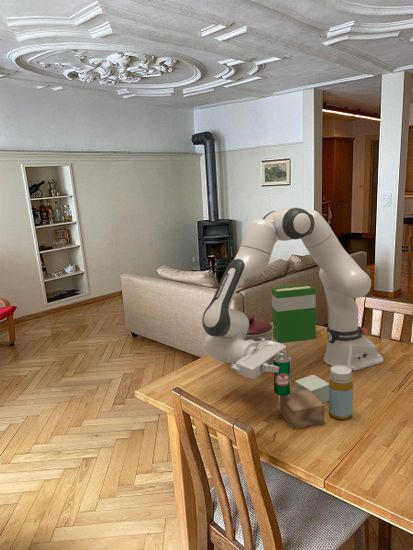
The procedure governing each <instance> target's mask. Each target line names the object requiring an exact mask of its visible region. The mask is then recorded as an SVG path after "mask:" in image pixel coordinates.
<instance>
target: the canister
mask: <svg viewBox="0 0 413 550" xmlns="http://www.w3.org/2000/svg"><path fill="white" fill-rule="evenodd" d="M247 317H248V319H249V329H248V333H247V336H246V339H245V341H246V340H253V339H257V338H264V339H265V341H267V340H268V341H272V339H273V329H274V326H273V322H270V321H267V320H266V319H264V318H258V317H254V315H252V314H248V315H247Z"/></svg>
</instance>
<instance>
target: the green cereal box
mask: <svg viewBox="0 0 413 550" xmlns="http://www.w3.org/2000/svg"><path fill="white" fill-rule="evenodd" d="M316 290H317V289H316V287H312V286H311V284H310V283H306V284H304V283H303V284H294V285H286V286H284V285H283V286H274V287H271V305H272V306H271V310H272V311H271V313H272V314H271V315H272V316H271V317H272V318H271V319H272V324H273V326H274V329H273V330H272V339H274V340H275V341H274V342H278V343H281V344H285V343H286V344H287V343H296V342H304V341H310V340H311V341H312V340H316V339H317V338H316V337H317V335H316V334H317V331H316V326H317V325H316V324H317V323H316V320H317V319H316V318H317V317H316V316H317V315H316V310H317V309H316V296H317V294H316V293H317V291H316Z"/></svg>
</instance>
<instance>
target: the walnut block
mask: <svg viewBox="0 0 413 550" xmlns="http://www.w3.org/2000/svg"><path fill="white" fill-rule="evenodd" d="M279 412H280V413H281V415H282V416H283V417H284V419H285V420H286V422H287V423H288V424H289V426H290V427H291V428H292V429H293V430H299V429H302V428H308V427H313V426H318V425H323V424H325V404H324V403H322V402H321V401H320V400H319V399H318V398H317V397H316V396H315V395H314V394H313V393H312V392H311V391H310V390H309V389H308V390H302V391H297V392H295V391H291V392H290V393H289V394H288V395H286V396H279Z"/></svg>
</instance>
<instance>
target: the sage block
mask: <svg viewBox="0 0 413 550" xmlns="http://www.w3.org/2000/svg"><path fill="white" fill-rule="evenodd" d="M308 389H309V390H310V391H311V392H312V393H313V394H314V395H315V396H316V397H317V398H318V399H319V400H320V401H321V402H322V403H323V404H324V403H327V402H329V382H327V381H325V379H323V378H320V377H318V376H316V375H315V374H311V375H308V376H305V377H302V378H299V379H296V380H294V392H297V391H302V390H308Z"/></svg>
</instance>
